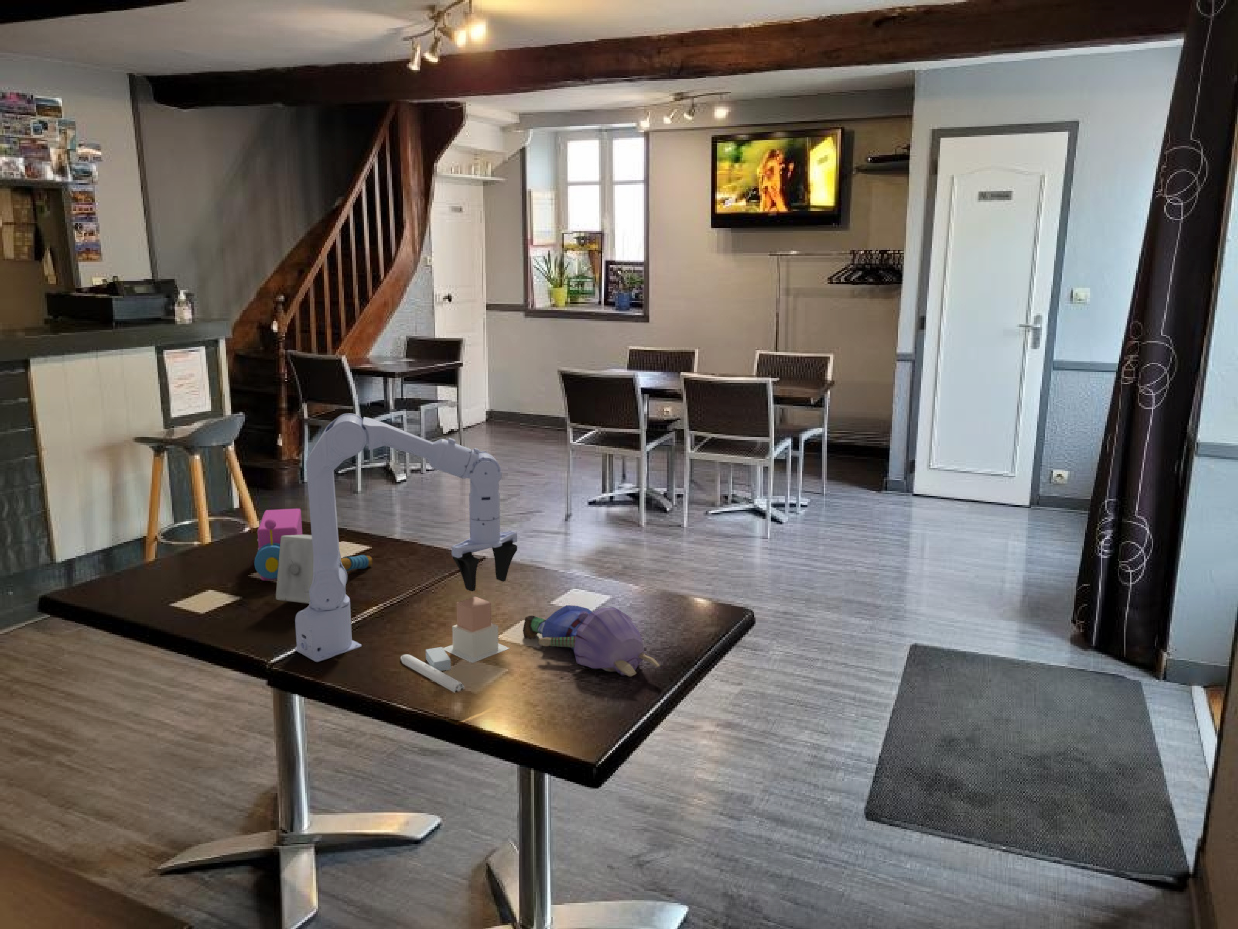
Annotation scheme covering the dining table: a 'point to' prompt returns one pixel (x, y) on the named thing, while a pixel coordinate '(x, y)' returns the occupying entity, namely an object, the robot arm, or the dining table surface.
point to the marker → (432, 673)
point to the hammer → (304, 567)
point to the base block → (475, 640)
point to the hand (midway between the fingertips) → (485, 584)
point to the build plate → (472, 660)
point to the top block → (473, 614)
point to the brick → (438, 659)
